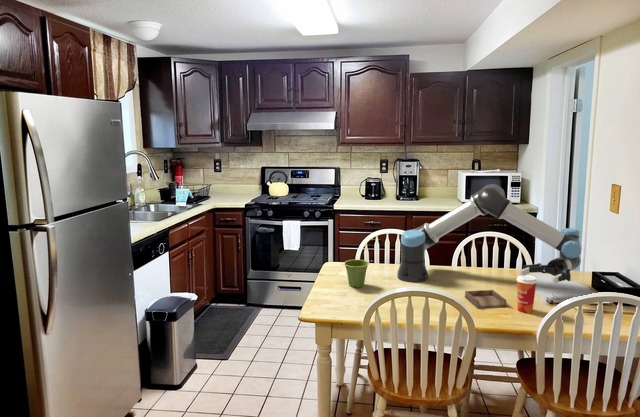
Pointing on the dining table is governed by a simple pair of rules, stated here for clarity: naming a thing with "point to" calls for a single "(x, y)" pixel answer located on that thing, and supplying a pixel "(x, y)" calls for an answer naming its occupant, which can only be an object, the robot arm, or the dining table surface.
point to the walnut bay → (485, 299)
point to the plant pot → (356, 272)
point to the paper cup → (525, 293)
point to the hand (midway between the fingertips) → (537, 277)
